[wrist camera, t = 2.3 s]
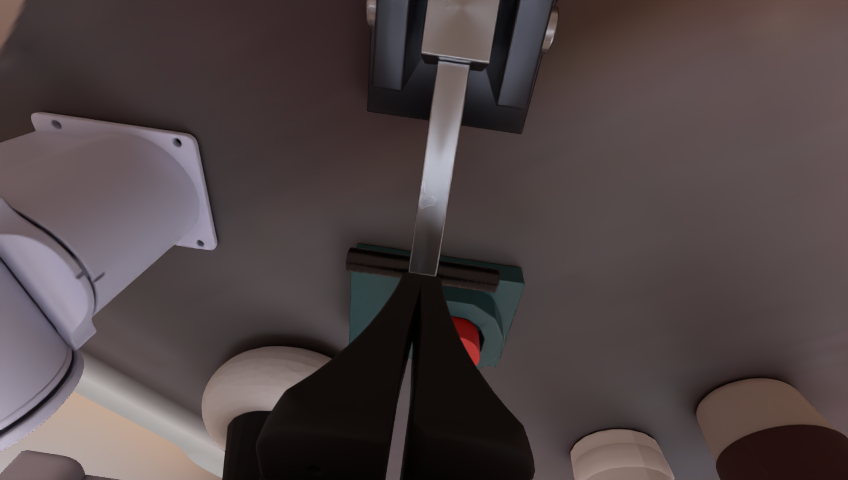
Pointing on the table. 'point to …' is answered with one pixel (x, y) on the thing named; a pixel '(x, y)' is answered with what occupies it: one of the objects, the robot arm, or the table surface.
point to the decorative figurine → (251, 401)
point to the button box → (473, 305)
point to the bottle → (619, 457)
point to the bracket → (486, 91)
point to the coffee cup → (770, 434)
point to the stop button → (468, 337)
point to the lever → (442, 143)
